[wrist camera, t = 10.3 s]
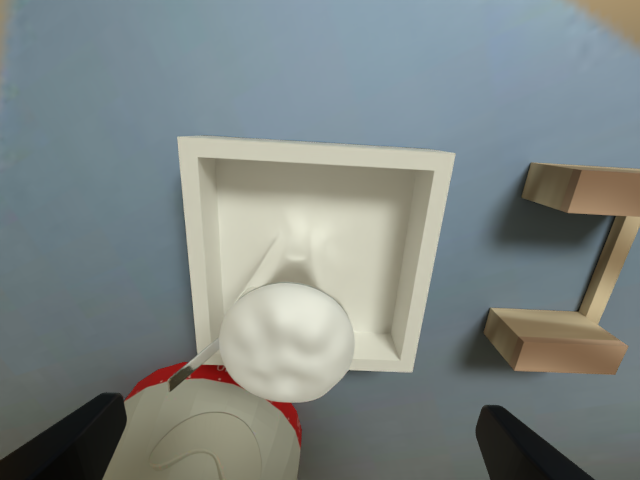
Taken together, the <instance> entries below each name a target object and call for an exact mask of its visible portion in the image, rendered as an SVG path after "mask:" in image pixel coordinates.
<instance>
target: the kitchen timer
mask: <svg viewBox="0 0 640 480" xmlns="http://www.w3.org/2000/svg"><path fill="white" fill-rule="evenodd" d="M187 363H188V362H183V363H179V364H176V365H173V366H169V367H166V368H162V369H159V370H157V371H155V372H154V373H152V374H151V375H149V376H148V377H146V378H144V379H143V380H141V381H140V382H138V383H137V385H136V386H135V387H134V389H133V390H132V391H131V393H130V394H129V395H128V396H127V398H126V399H125V401H124V405H125V409H126V414H127V424H126V427H125V430H124V432H123V434H122V437H121V439H120V441H119V443H118V446H117V448H116V450H115V452H114V455H113V457H112V459H111V461H110V464H109V466H108V468H107V470H106V473H105V475H104V477H103V479H102V480H297V475H298V469H299V460H300V451H301V433H302V429H301V425H300V422H299V418H298V415H297V411H296V410H295V408H294V407H293V405H292V404H291V402H276V401H270V400H267V399H263V398H261V397H258V396H256V395H254V394H252V393H250V392H248V391H247V390H245V389H244V388H243V387H241V386H240V385H239V384H237V383H236V382H235V381H234V380H233V379H232V377H231V376H230V375H229V373H228V372H227V370H226V368H225V366H224V365H203V364H202V365H201V366H200V367H199V368H198V369H196V370H195V371H194V372H193V373H192V374H191V375H190V376H188V377H187V378H186V379H185V380H184V381H183V382H182V383H180V384H179V385H178V386H177V387H176V388H175V389H174V390H172V391H171V392H168V385H167V380H168V379H169V378H170V377H171V376H172V375H174V374H175V373H176V372H177V371H178V370H180V369H181V368H182V367H183V366H185V365H186V364H187Z"/></svg>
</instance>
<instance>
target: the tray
mask: <svg viewBox="0 0 640 480" xmlns="http://www.w3.org/2000/svg"><path fill="white" fill-rule="evenodd" d="M177 139H178V150H179V161H180V171H181V182H182V193H183V204H184V214H185V225H186V236H187V247H188V258H189V268H190V279H191V290H192V301H193V311H194V322H195V333H196V344H197V355H198V354H199V353H200V352H201V351H203V350H204V349H205V348H206V347H207V346H209V345H210V344H211V343H212V342H213V341H215V340H216V339H217V338H218V337H219V333H220V328H221V324H222V321H223V319H224V317H225V315H226V313H227V312H228V310H229V309H230V308H231V307H232V305H233V304H234V303H235V301H236V300H237V298H238V297H239V295H240V294H241V293H242V291H243V290H244V288H245V287H246V286H247V284H248V283H249V281H250V280H251V278H252V277H253V275H254V274H255V272H256V271H257V269H258V268H259V266H260V264H261V263H262V261H263V260H264V258H265V256H266V255H267V253H268V251H269V250H270V248H271V247H272V245H273V243H274V242H275V240H276V239H277V237H279V236H281V235H283V234H284V233H286V232H288V231H289V230H291V229H302V230H311V231H312V232H313V233H314V234H316V235H317V236H318V237H319V238H321V239H322V240H323V241H324V243H325V246H326V250H327V253H328V257H329V260H330V264H331V267H332V271H333V274H334V277H335V280H336V283H337V285H338V288H339V291H340V293H341V296H342V299H343V302H344V304H345V307H346V310H347V313H348V315H349V318H350V321H351V324H352V327H353V331H354V337H355V349H354V355H353V359H352V362H351V365H350V367H349V369H348V370H361V371H388V372H412V371H413V366H414V361H415V356H416V351H417V346H418V341H419V336H420V331H421V326H422V321H423V316H424V311H425V305H426V300H427V295H428V290H429V285H430V280H431V275H432V270H433V265H434V260H435V255H436V250H437V245H438V240H439V235H440V230H441V225H442V220H443V215H444V210H445V204H446V199H447V194H448V189H449V184H450V179H451V174H452V169H453V164H454V159H455V154H456V153H450V152H444V151H438V150H432V149H422V148H406V147H389V146H372V145H356V144H339V143H322V142H305V141H289V140H272V139H255V138H239V137H222V136H205V135H204V136H184V137H177ZM203 365H224V363H223V361H222V358H221V354H220V349H219V350H218V351H217V352H216V353H215V354H213V355H212V356H211V357H210V358H209V359H208V360H207V361H205V362H204V363H203Z"/></svg>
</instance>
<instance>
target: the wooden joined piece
mask: <svg viewBox="0 0 640 480" xmlns="http://www.w3.org/2000/svg"><path fill="white" fill-rule="evenodd" d="M521 198H524V199H527V200H530V201H533V202H536V203H539V204H542V205H545V206H548V207H551V208H554V209H557V210H560V211H563V212H566V213H578V214H597V215H615V216H616V218H615V220H614V223H613V225H612V228H611V230H610V233H609V236H608V238H607V241H606V243H605V246H604V248H603V251H602V253H601V256H600V258H599V261H598V264H597V266H596V269H595V271H594V274H593V276H592V279H591V281H590V284H589V286H588V289H587V292H586V294H585V297H584V299H583V302H582V304H581V307H580V309H579V312H573V311H551V310H528V309H506V308H490V311H489V315H488V319H487V322H486V326H485V329H484V334H485V336H486V337H487V338H488V339H489V341H490V342H491V343H492V344H493V345H494V347H495V348H496V349H497V350H498V351H499V353H500V354H501V355H502V356H503V358H504V359H505V360H506V361H507V362H508V364H509V365H510V366H511V367H512V368H513V370H514V371H534V372H560V373H586V374H612V375H615V374H616V372H617V370H618V367H619V365H620V363H621V361H622V359H623V357H624V355H625V353H626V351H627V349H628V346H627V345H626V344H624V343H623V342H622V341H620V340H619V339H617V338H616V337H614V336H613V335H611V334H610V333H609V332H607V331H606V330H604V329H603V328H601V327H600V326H598V323H599V321H600V318H601V316H602V314H603V311H604V309H605V307H606V304H607V302H608V300H609V297H610V295H611V293H612V290H613V288H614V285H615V283H616V281H617V278H618V276H619V274H620V271H621V269H622V267H623V264H624V262H625V259H626V257H627V255H628V252H629V250H630V248H631V245H632V243H633V241H634V238H635V236H636V234H637V231H638V229H639V226H640V169H632V168H615V167H598V166H582V165H565V164H548V163H531V165H530V169H529V172H528V176H527V179H526V183H525V186H524V190H523V194H522V197H521Z"/></svg>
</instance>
